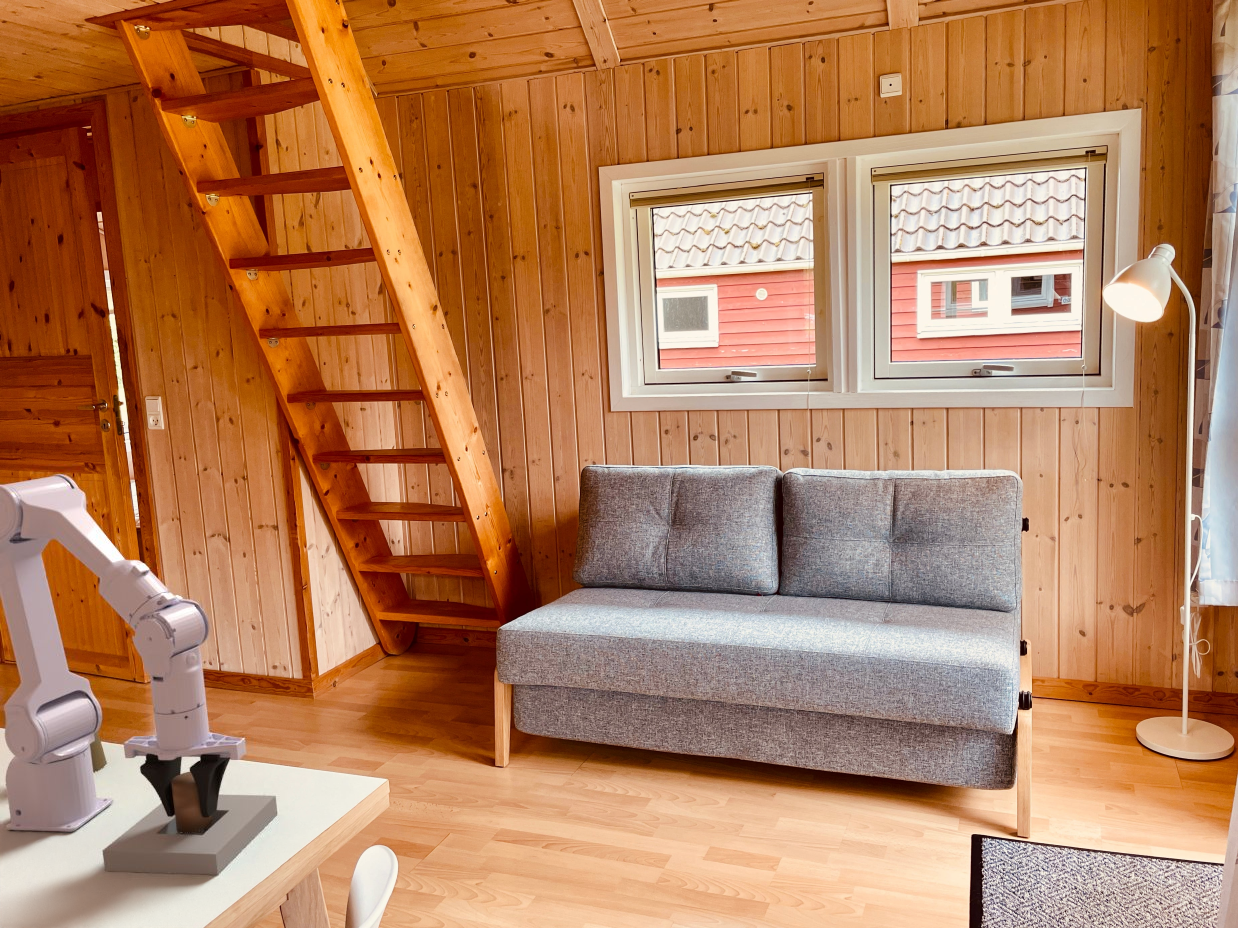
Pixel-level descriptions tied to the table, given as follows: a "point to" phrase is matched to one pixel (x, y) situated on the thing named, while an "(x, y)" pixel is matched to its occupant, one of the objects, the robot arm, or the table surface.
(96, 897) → the table surface
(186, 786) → the wooden peg
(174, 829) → the socket block
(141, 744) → the robot arm
